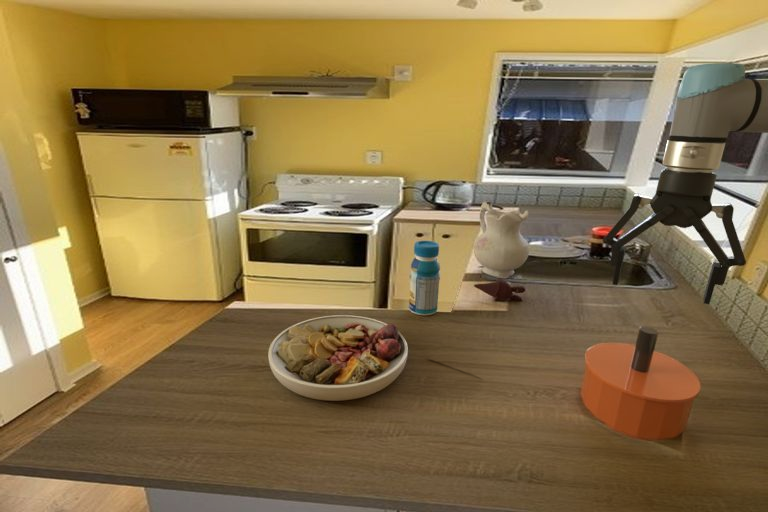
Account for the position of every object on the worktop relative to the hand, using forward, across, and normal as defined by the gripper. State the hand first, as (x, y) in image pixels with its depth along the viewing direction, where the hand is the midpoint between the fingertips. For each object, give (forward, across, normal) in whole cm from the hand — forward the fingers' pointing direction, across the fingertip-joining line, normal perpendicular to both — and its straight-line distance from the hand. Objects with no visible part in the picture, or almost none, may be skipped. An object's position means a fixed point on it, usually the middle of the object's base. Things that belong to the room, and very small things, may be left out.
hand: (658, 291), depth 75 cm
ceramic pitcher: (+25, -49, +59) cm, 81 cm away
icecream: (+25, -39, +34) cm, 57 cm away
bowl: (+25, -55, -22) cm, 64 cm away
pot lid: (+16, 0, 0) cm, 16 cm away
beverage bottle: (+25, -54, +14) cm, 61 cm away
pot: (+25, 0, 0) cm, 25 cm away
